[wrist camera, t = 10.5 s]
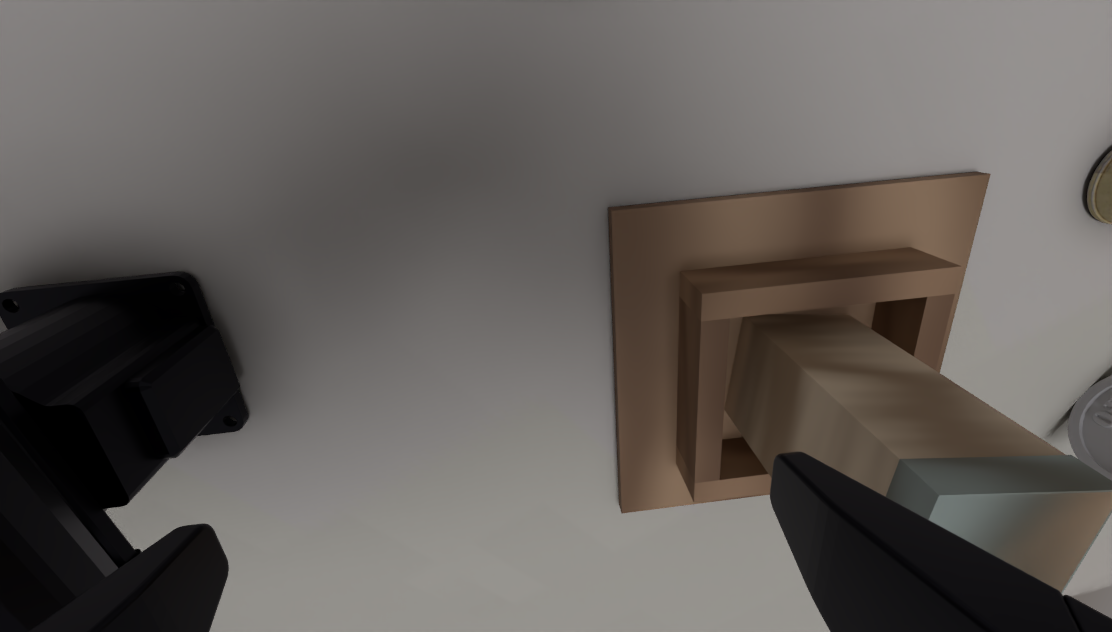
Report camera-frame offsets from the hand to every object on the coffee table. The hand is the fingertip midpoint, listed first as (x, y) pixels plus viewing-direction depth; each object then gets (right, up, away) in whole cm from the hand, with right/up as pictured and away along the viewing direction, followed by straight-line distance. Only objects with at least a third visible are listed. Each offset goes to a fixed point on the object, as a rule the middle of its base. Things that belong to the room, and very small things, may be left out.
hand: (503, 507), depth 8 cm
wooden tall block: (+10, +1, +13) cm, 17 cm away
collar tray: (+10, +1, +14) cm, 17 cm away
